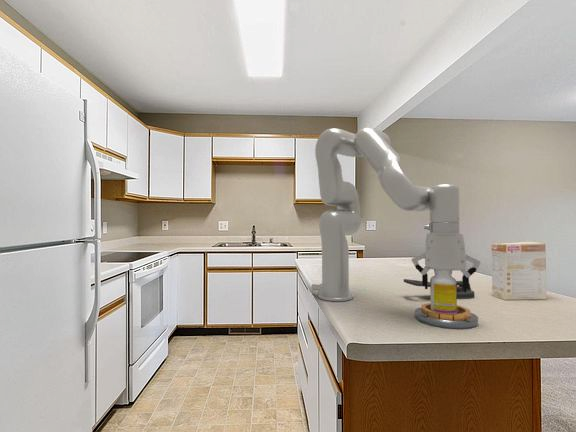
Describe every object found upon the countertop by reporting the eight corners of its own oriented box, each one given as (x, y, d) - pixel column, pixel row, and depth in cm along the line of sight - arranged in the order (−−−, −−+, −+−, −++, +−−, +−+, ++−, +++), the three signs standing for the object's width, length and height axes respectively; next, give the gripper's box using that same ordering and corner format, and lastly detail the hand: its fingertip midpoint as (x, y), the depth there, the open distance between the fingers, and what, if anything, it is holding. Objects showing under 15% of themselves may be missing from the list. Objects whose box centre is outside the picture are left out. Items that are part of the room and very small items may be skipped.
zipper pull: (400, 278, 118) (460, 275, 123) (400, 296, 118) (460, 292, 123) (415, 283, 109) (478, 279, 115) (415, 302, 109) (478, 298, 115)
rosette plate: (413, 324, 87) (413, 313, 87) (415, 308, 101) (415, 299, 101) (482, 332, 80) (482, 320, 80) (474, 314, 95) (474, 304, 95)
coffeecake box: (531, 295, 119) (530, 241, 119) (547, 299, 112) (546, 243, 112) (491, 295, 118) (490, 242, 119) (504, 300, 111) (503, 243, 111)
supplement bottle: (461, 317, 88) (461, 269, 88) (437, 317, 88) (436, 269, 88) (449, 310, 94) (449, 266, 95) (426, 310, 95) (426, 266, 95)
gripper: (410, 228, 91) (411, 289, 91) (482, 229, 84) (482, 295, 84) (412, 228, 98) (412, 284, 98) (477, 228, 91) (478, 289, 91)
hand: (444, 289), depth 91 cm, fingers open, 9 cm apart
